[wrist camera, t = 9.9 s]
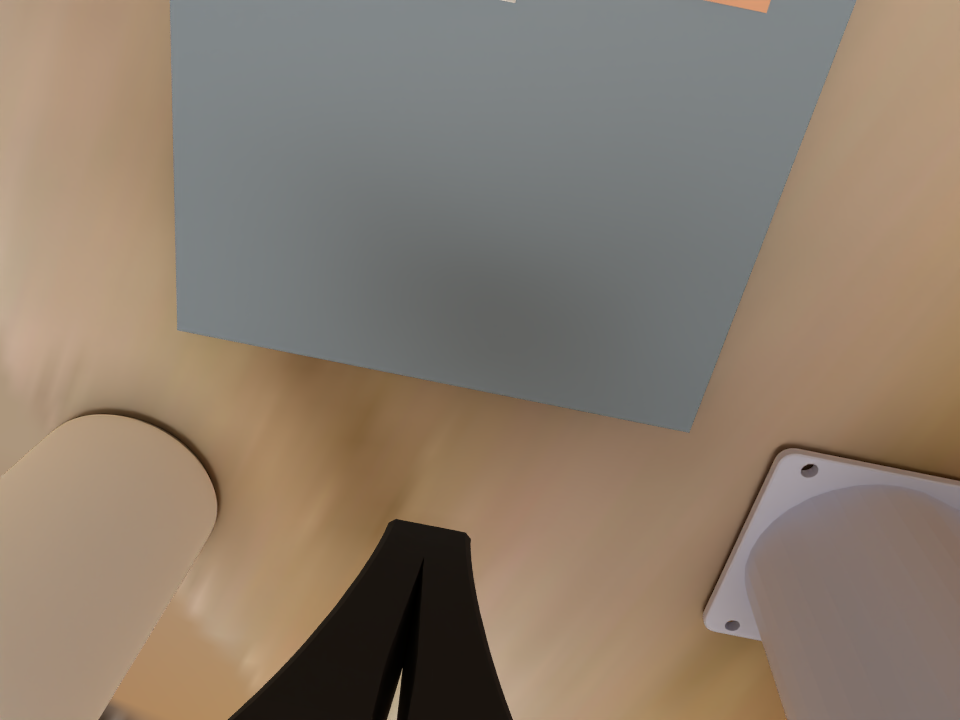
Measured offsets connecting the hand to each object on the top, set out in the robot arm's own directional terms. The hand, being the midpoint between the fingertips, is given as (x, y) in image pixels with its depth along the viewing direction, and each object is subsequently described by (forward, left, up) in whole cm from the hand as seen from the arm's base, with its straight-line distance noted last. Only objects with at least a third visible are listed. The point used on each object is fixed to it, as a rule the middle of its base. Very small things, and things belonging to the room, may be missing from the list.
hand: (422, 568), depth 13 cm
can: (+11, +9, -11) cm, 18 cm away
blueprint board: (+1, -7, -10) cm, 13 cm away
